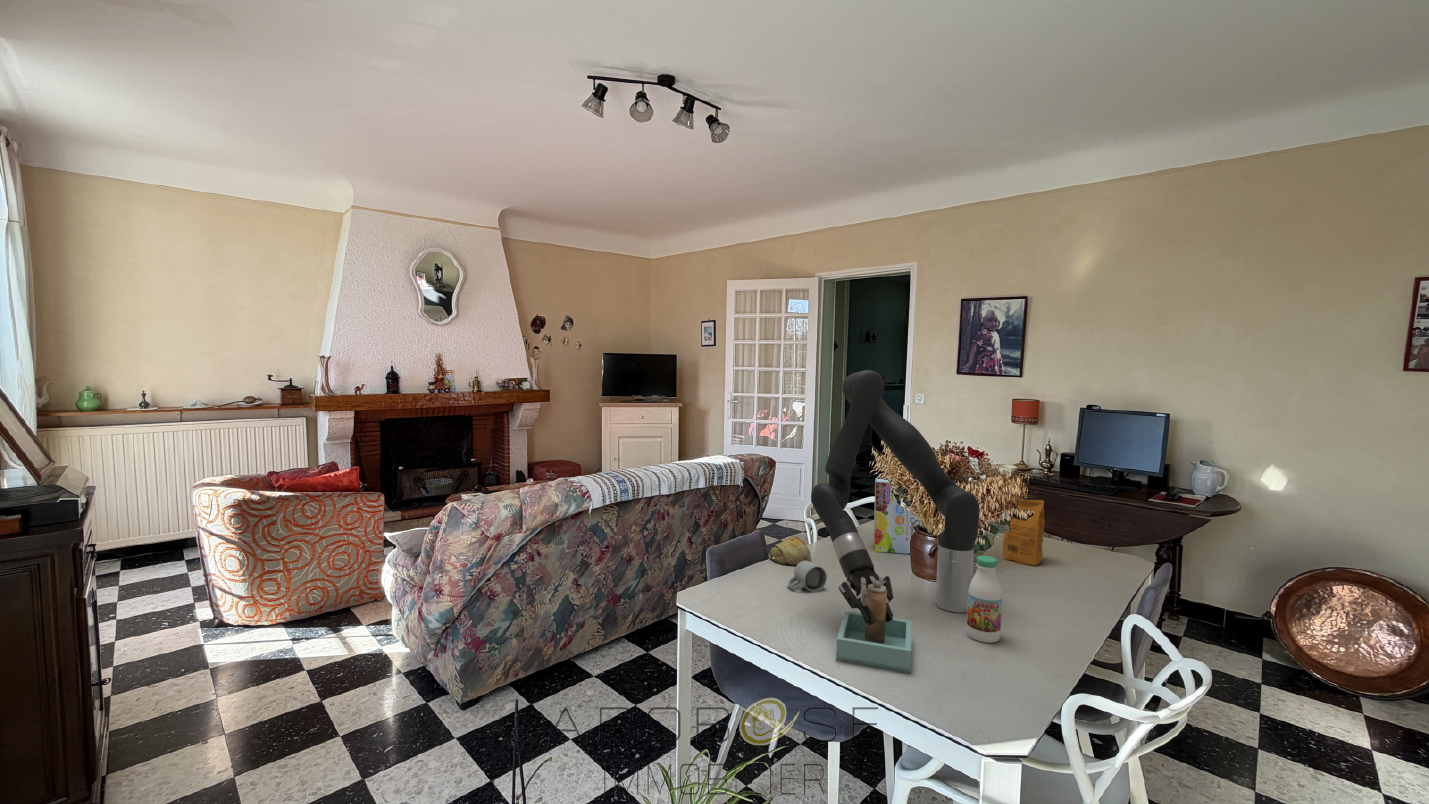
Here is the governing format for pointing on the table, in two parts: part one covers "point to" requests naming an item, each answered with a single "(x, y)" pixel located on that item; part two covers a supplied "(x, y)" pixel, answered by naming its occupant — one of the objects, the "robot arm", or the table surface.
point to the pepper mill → (876, 612)
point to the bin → (875, 644)
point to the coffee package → (1025, 535)
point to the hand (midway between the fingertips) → (880, 622)
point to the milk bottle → (984, 602)
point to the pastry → (791, 552)
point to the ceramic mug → (808, 577)
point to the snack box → (891, 521)
